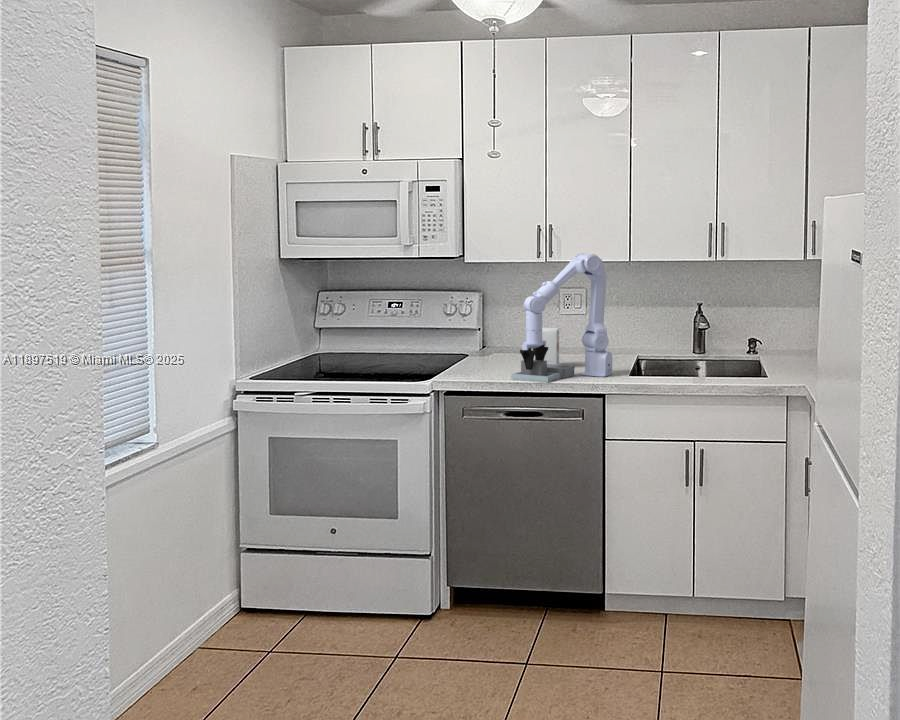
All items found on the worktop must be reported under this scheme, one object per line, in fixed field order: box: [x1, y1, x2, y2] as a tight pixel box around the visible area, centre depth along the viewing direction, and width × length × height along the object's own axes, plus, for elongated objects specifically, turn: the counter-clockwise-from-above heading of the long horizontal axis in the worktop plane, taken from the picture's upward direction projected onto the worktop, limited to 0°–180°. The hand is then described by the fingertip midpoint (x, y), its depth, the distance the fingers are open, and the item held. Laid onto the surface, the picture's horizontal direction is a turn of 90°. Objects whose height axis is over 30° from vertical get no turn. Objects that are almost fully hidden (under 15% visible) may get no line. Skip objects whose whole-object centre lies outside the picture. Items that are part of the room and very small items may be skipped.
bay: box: [547, 364, 575, 379], centre depth 417 cm, size 11×8×4 cm
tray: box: [510, 371, 561, 383], centre depth 409 cm, size 15×9×2 cm, turn 57°
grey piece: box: [534, 327, 560, 365], centre depth 437 cm, size 9×9×15 cm
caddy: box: [520, 359, 547, 376], centre depth 409 cm, size 8×4×7 cm, turn 60°
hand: (534, 368), depth 409 cm, fingers open, 7 cm apart
